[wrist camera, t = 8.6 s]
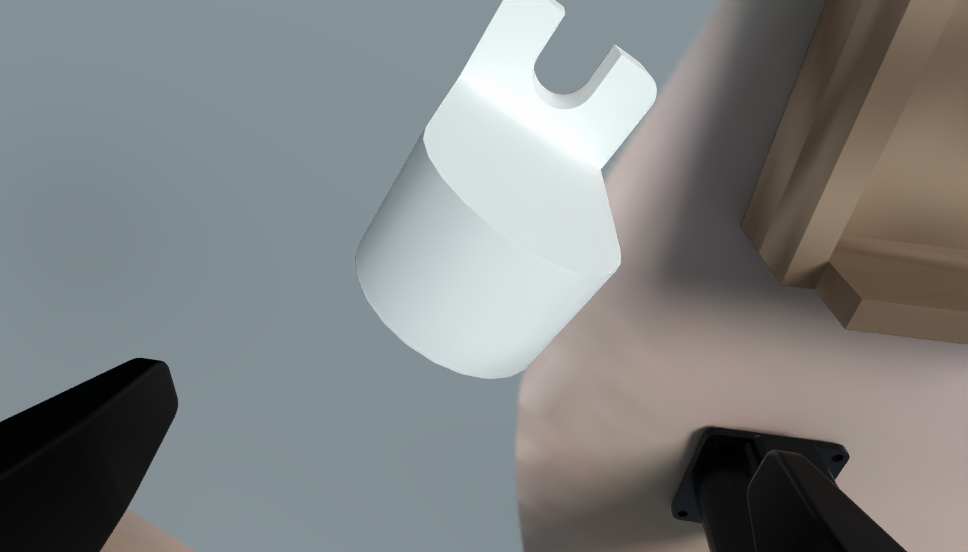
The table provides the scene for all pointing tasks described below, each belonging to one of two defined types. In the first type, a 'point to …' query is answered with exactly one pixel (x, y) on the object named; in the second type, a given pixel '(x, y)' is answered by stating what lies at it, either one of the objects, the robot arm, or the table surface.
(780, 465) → the robot arm
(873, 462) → the table surface
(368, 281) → the cable organizer
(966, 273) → the tray
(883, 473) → the table surface
